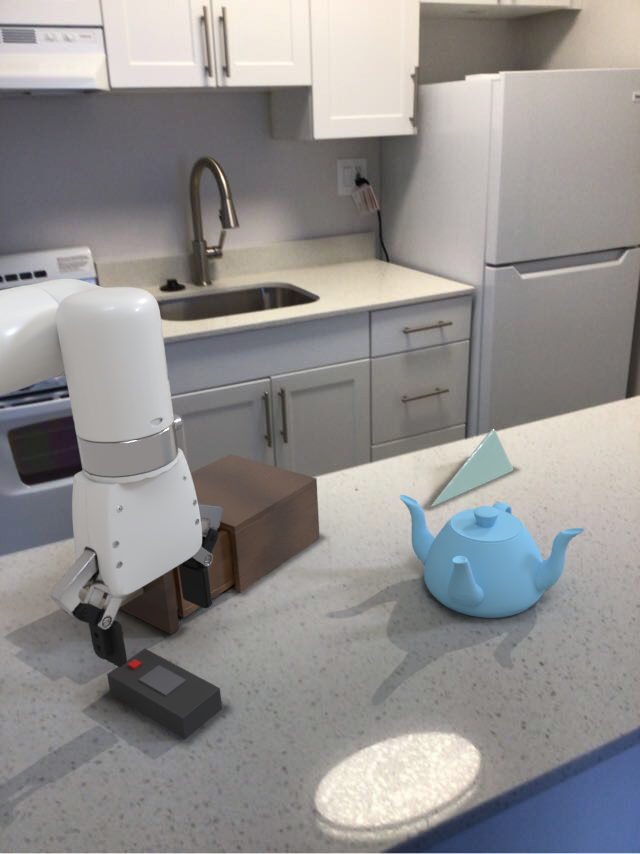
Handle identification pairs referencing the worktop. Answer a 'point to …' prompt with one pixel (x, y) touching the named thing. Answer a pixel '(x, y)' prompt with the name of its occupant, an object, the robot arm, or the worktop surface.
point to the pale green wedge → (478, 468)
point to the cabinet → (260, 513)
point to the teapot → (485, 560)
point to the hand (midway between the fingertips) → (157, 629)
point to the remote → (165, 692)
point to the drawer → (176, 590)
